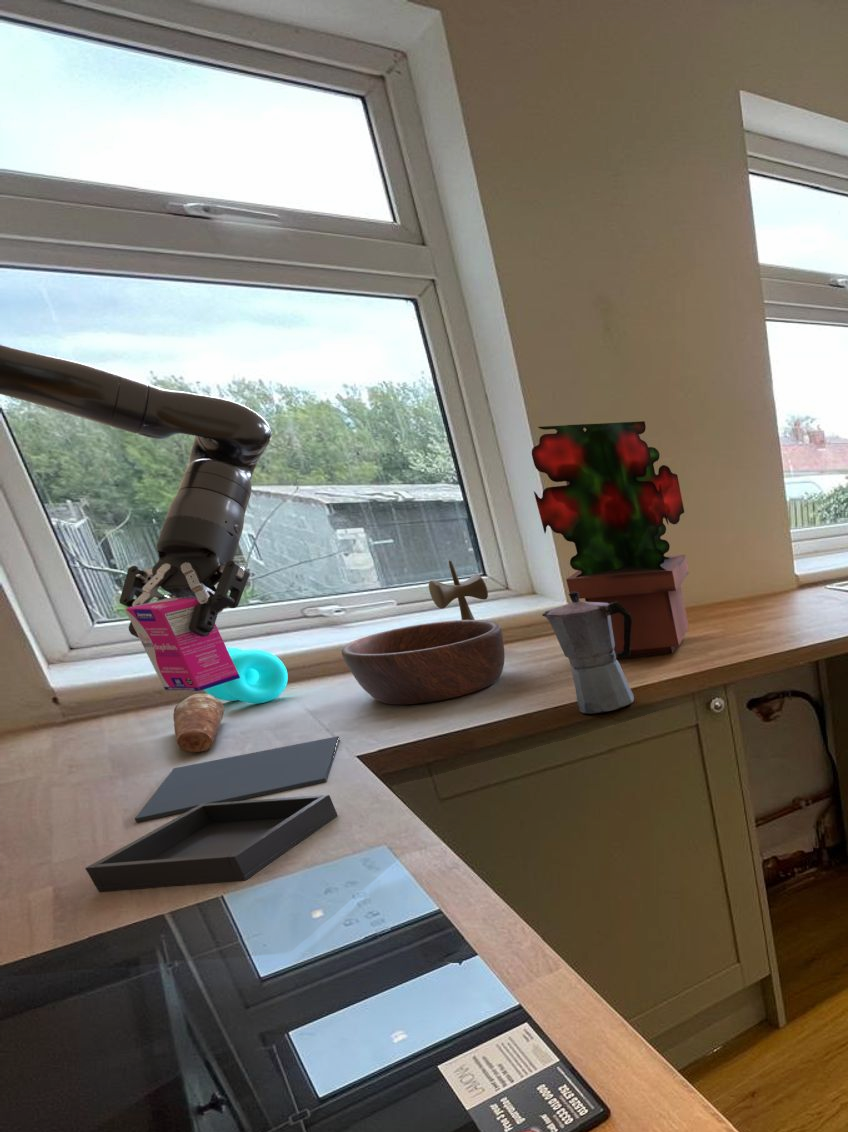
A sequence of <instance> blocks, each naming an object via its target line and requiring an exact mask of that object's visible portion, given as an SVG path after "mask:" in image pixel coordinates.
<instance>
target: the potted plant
mask: <svg viewBox="0 0 848 1132" xmlns="http://www.w3.org/2000/svg"><path fill="white" fill-rule="evenodd" d="M537 428H538V429H540V430H544V431H547V430H555V431H556V432H554V433H544V434H542V435H540V436H539V441H538V442H539V443H538V444H537V445H534V447H532V448H531V458H532V461H533V465H534V467H535V469H536V470H537V471H538V472H539V473H543V474H546V475H547V477H548V478H549V480H550V481H552V482H555V483H563V482H565V483H566V484H565V485H557V486H548V487H545V488H544V489H543V491H542V496H541V498H540V497H539V495H538V494H537V492H536V491H533V494H534V498H535V503H536V506H537V508H538V513H539V517H540V521H541V525H542V529H543V532H544V534H546V533H547V527H550V529H551V531H552V532H553V533H554V534H559V535H562V537H563V538H564V540H565V541H566V542H569V543H574V547H575V550H576V554H575V555H573V556H572V557H570V560H569V565H570V567H571V568H572V570H574V571H576V572H574V573H573V574H571V575H570V576H569V577H568V578H565V580H566V584H567V589H568V594H569V593H571V592H579V600H581V599H582V600H583V599H584V600H585V602H602V603H608V604H611V603H613V602H618V604H620V605H621V607H623V608H624V609H626V610H627V612H629V613H630V614H631V620H632V626H631V627H632V629H631V641H630V644H631V647H630V656H627V657H623V658H622V659H628V658H638V657H639V658H640V657H649V656H659V655H669V654H673V653H674V651H675V650H676V648H677V647H679V646H680V645H681V643H682V641H683V639H684V638H685V636H686V634H687V632H688V630H689V628H690V625H689V619H688V616H687V610H686V606H685V600H684V595H683V590H682V586H681V585H682V583H683V582H684V580H685V579H686V578H687V576H688V575H689V574H690V571H689V565H688V561H687V556H686V554H680V555H666V556H665V554H666V553H668V552H669V551H670V549H671V548H670V542H669V541H668V540H666V539H662V537H663V536H664V535H665V534H666V532H667V526H666V525H665V523H664V519H665V522H666V524H667V525H668V526H669V525H677V524H679V522H680V521H681V520H680V519H681V518H680V517H681V515H683V514H684V513H685V508H684V502H683V498H682V492H681V487H680V482H679V476H678V474H676V473H675V472H674V473H673V472H672V470H671V468H670V467H669V466H668V465H665V464H662V465H661V466H659V468H658V473H656V471H655V465H654V464H655V463H656V462H658V461H659V460H660V457H661V456H660V455H661V454H660V452H659V450H658V449H657V448H656V447H653V446H649V445H648V443H647V442H646V441H645V440H643V439H642V438H641V437H640V435H642V434H644V433H645V432H646V422H645V421H644V420H643V421H622V422H621V421H620V422H604V423H581V424H567V425H566V424H563V425H546V426H544V425H543V426H537ZM584 429H586V430H584ZM610 616H611V623H612V629H613V635H614V642H615V647H614V651H615V654H616V653H617V652H623V651H624V650H623V647H624V643H625V642H624V616H623V615H622V614H621V613H616V614H614V615H610ZM617 659H618V660H619V659H620V658H618V657H616V660H617Z"/></svg>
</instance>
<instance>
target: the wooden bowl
mask: <svg viewBox="0 0 848 1132" xmlns="http://www.w3.org/2000/svg"><path fill="white" fill-rule="evenodd" d="M341 656H342V658H343V660H344V662H345V663H346V665H347V667H348V669H349V670H350V672H351V674H352V676H353V677H354V679H355V680H356V681H357V683H358V684H359V686H360V687H361V688H362V689H363V691H365V692H366V693H367V694H368V695H370V696H371V697H372V698H373V699H375V700H376V701H378V702H381V703H383V704H386V705H387V704H388V705H417V704H418V705H419V704H426V703H432V702H439V701H444V700H449V699H454V698H458V697H462V696H465V695H468V694H472V693H475V692H478V691H480V690H483V689H486V688H487V687H490V686H491V685H493V684H495V683H496V682H497V681H498V680H499V678H500V677H501V675H502V673H503V671H504V665H505V659H506V657H505V656H506V655H505V643H504V635H503V631H502V627H501V625H500V624H499V623H497V622H495V621H492V620H487V619H475V620H462V619H455V620H444V621H435V622H428V623H419V624H415V625H408V626H403V627H398V628H394V629H389V630H384V631H380V632H377V633H373V634H370V635H366V636H363V637H360V638H358V639H355V640H353V641H351V642H349V643H347V644H346V645H345V646H343V647H342V649H341Z"/></svg>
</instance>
